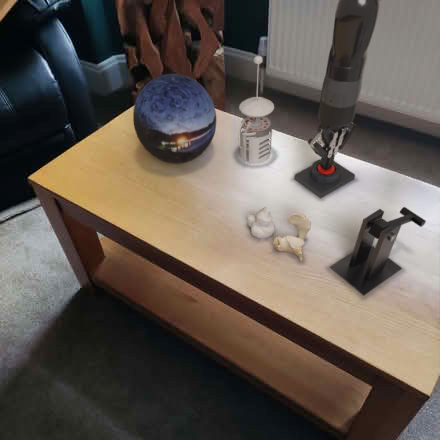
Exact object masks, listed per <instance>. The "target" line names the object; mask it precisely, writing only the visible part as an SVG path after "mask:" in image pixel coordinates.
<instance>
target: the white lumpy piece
mask: <svg viewBox="0 0 440 440" xmlns="http://www.w3.org/2000/svg"><path fill="white" fill-rule="evenodd" d="M246 218H247V219H246V220H247V225H248V226H249V227H250V233H251V235H252V236H254V237H255V238H259V239H262V238H263V239H266V238H269V237H271V236H272V235H274V233H275V230H276V227H275V223H274V221H273V216H272V214H271V212H270V211H269V209H268V208H267V207H265V206H264V207H263V208H261V209H259V210H258V211H257V212H256V213H255V214H251V213H250V214H248V215H247V217H246Z"/></svg>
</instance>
